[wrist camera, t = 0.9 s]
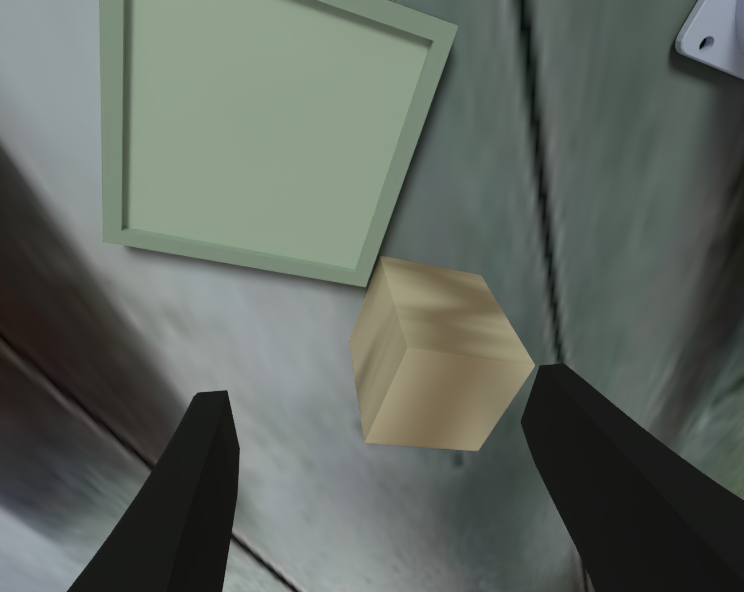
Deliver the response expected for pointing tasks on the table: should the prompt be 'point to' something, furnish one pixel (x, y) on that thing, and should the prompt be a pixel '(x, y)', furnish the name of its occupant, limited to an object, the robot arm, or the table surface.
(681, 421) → the table surface
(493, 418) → the maple block
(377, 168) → the tray
